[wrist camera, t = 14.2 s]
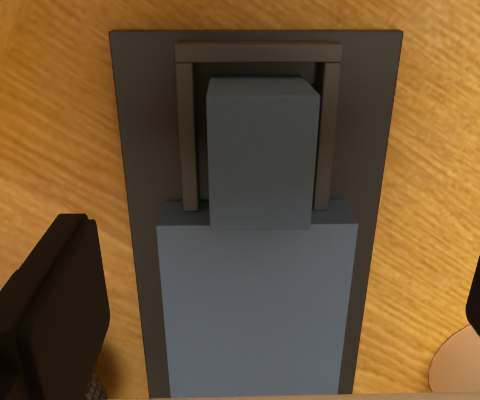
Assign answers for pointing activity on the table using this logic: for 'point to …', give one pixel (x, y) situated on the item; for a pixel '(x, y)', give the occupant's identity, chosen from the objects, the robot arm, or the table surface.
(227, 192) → the blue-grey block
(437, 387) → the cylinder with rectangular tab
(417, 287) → the table surface
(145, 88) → the backing plate
